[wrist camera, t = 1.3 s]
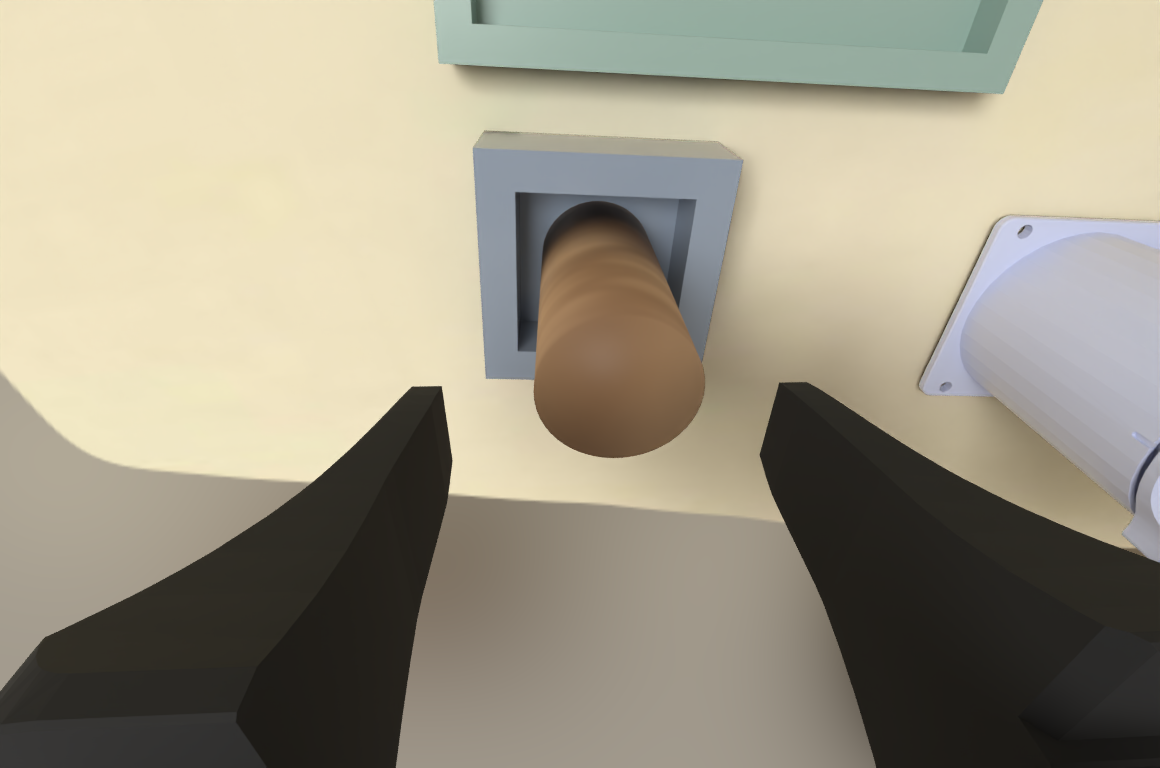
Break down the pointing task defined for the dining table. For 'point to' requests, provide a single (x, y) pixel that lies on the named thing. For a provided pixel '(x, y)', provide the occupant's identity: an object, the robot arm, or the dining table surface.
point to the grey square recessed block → (582, 174)
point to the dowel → (611, 338)
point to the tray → (749, 39)
